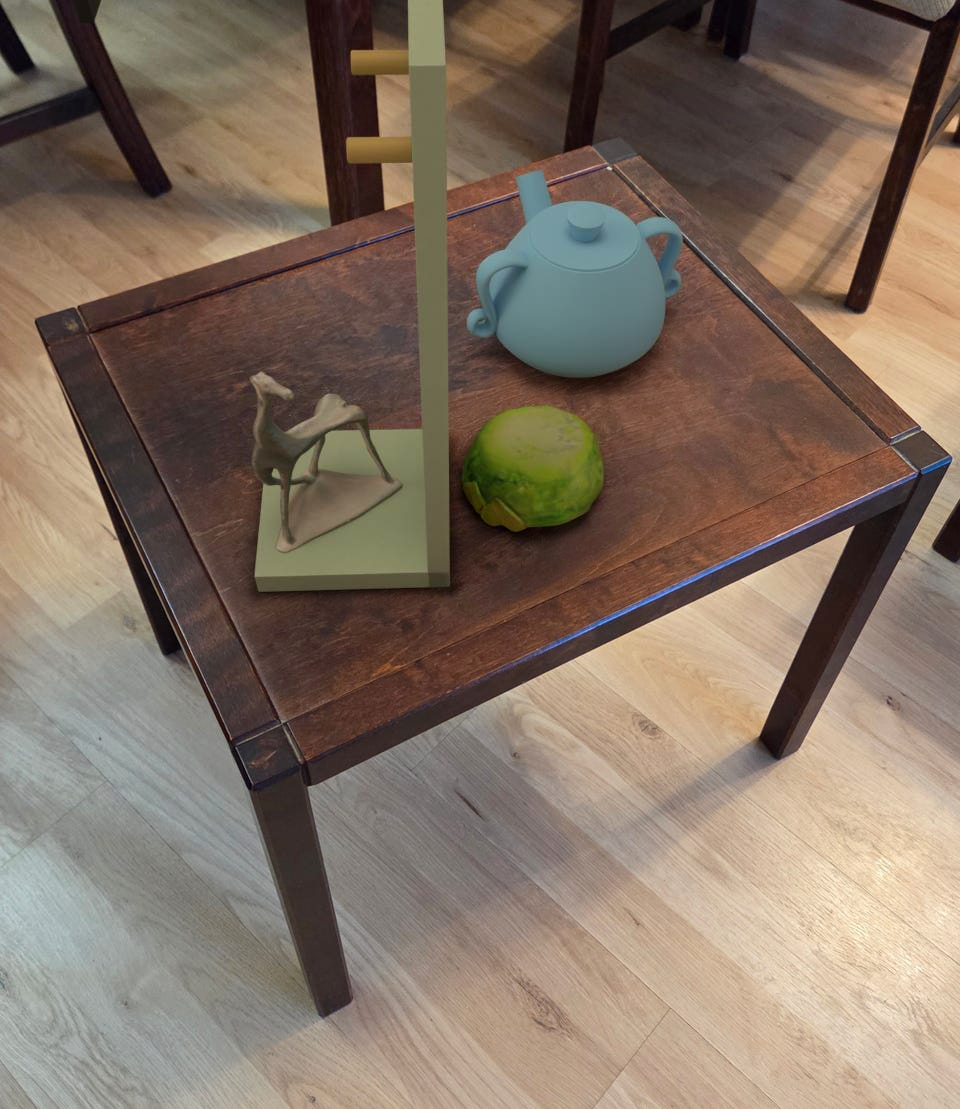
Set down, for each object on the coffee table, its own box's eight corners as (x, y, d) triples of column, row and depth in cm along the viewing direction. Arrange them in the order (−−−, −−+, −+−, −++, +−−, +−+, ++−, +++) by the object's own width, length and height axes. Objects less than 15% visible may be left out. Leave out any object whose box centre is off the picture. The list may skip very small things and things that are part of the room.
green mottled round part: (563, 559, 79) (569, 517, 75) (438, 503, 82) (438, 460, 78) (625, 459, 85) (634, 417, 81) (507, 410, 88) (510, 367, 84)
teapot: (497, 420, 87) (503, 301, 77) (424, 270, 98) (420, 149, 88) (710, 367, 92) (743, 247, 81) (617, 229, 103) (635, 109, 92)
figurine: (368, 440, 83) (353, 290, 71) (410, 494, 80) (401, 347, 68) (241, 497, 80) (203, 350, 67) (280, 556, 77) (246, 413, 64)
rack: (258, 592, 77) (115, 67, 45) (271, 448, 85) (159, -84, 53) (449, 587, 78) (445, 65, 45) (444, 444, 86) (438, -84, 53)
